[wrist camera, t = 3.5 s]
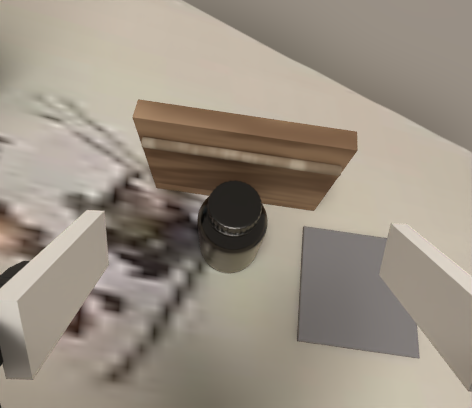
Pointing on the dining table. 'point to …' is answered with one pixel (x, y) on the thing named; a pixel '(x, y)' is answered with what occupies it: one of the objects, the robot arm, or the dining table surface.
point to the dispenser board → (241, 153)
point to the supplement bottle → (231, 226)
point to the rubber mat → (350, 296)
